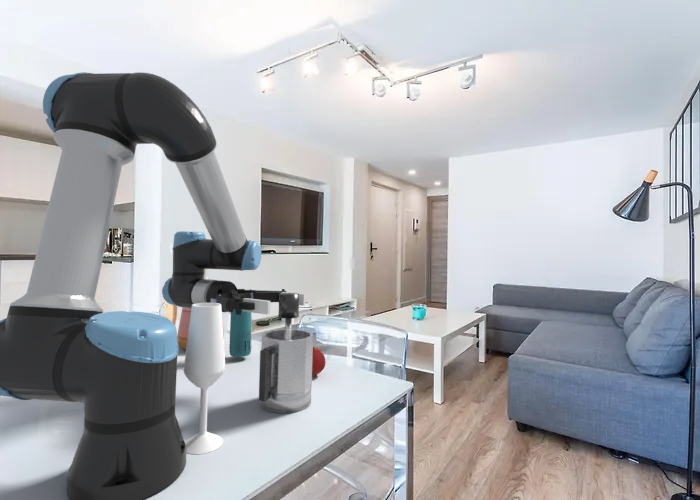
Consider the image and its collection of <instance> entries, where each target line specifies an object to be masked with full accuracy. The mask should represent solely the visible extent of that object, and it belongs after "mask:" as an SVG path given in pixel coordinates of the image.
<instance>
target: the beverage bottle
mask: <svg viewBox="0 0 700 500" xmlns="http://www.w3.org/2000/svg"><path fill="white" fill-rule="evenodd" d="M252 321H253V320H252V312H244V311H243V309H242V310H241V314H240V315H236V311H235V309H233V312H230V322H229V324H230V327H229V342H228V343H229V344H228V345H229V346H228V350H229V351H228V352H229V355H230V356H231V357H234V358H235V357H237V358H241V357H248V356H250V355H251V353H252V326H253V325H252V324H253V322H252Z"/></svg>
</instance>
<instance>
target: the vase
mask: <svg viewBox="0 0 700 500" xmlns="http://www.w3.org/2000/svg"><path fill="white" fill-rule="evenodd" d="M208 274H209V269H204V279H209V277H208V276H209V275H208ZM190 316H191V308H189V307H181V312H180V319H179V324H178V329H177V344H178V347H179V348H180V349H183V350H185V351H186V347H187V339H188V332H189V324H190ZM222 323H223V324H224V321H223V317H222ZM224 329H225V328H224V327H223V338H224V339H225V330H224Z"/></svg>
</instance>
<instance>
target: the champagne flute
mask: <svg viewBox="0 0 700 500" xmlns="http://www.w3.org/2000/svg"><path fill="white" fill-rule="evenodd" d="M222 318H223V312H222V308H221V304H220V303H197V304H193V305H192V308H191V316H190V324H189V332H188V339H187V347H186V350H185V356H184V365H183V373H184V376H185V377H186V379H188V381H189V382H190V383H192V384H193V385H194V386H195V387H197V388H199V389H200V398H199V400H200V402H199V403H200V404H199V432H198V433H196V434H194V435H193V436H191V437H189V438H188V439H186V440H184V442H185V445H186V454H189V455H203V454H208V453H211V452H213V451H215V450H217V449H219V448H220V447H221V446H222V445H223V442H224V439H223V437H221V436H220V435H218V434H215V433H212V432H209V431H208V428H207V427H208V403H209V402H208V397H209V396H208V393H209V392H208V391H209V387H211V386H213V385H214V384H215V383H216V382H217V381H218V380H219V379H220V378H221V377H222V375H223V373H224V371H225V369H226V357H225V356H226V355H225V342H224V341H225V340H224V339H225V337H224V338H223V328H224V322H223V323H222Z"/></svg>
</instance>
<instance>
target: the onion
mask: <svg viewBox="0 0 700 500" xmlns="http://www.w3.org/2000/svg"><path fill="white" fill-rule="evenodd" d="M325 367H326V357H325V355H324V353H323V352H322V351H321V350H320V349H319V348H318V347H317V346H316V345H315V346H314V345H313V358H312V377H316V376H318V375H319V374H320V373H322V371H323V370H324V369H325Z"/></svg>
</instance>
